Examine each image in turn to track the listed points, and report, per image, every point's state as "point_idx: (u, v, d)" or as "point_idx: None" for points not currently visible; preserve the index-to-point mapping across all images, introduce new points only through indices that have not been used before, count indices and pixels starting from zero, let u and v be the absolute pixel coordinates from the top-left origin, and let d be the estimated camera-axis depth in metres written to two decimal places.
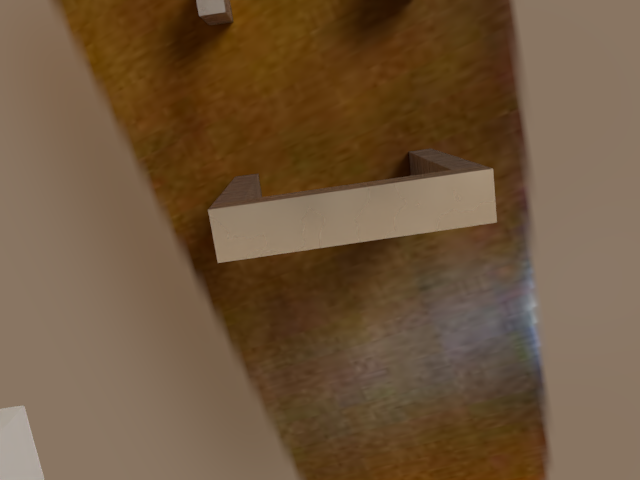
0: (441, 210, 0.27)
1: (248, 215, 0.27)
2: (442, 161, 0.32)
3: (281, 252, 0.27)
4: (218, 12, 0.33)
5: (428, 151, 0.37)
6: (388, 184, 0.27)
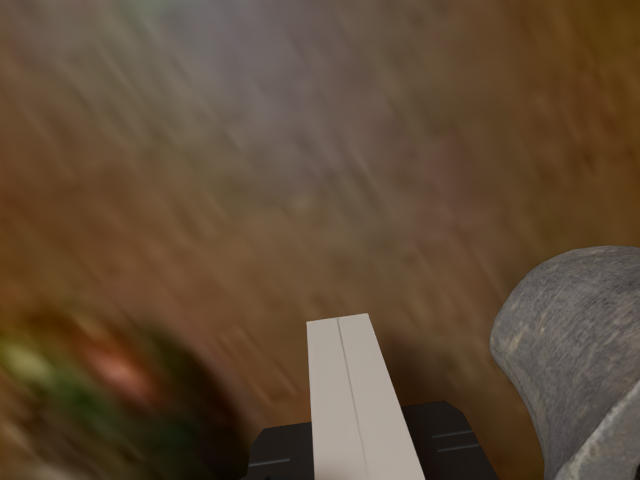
0: None
1: None
2: None
3: None
4: None
5: None
6: None
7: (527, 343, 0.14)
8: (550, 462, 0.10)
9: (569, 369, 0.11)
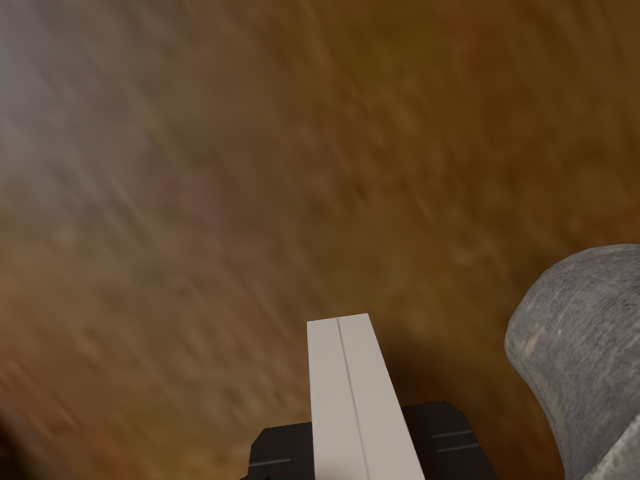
0: None
1: None
2: None
3: None
4: None
5: None
6: None
7: (545, 346, 0.13)
8: (571, 472, 0.09)
9: (588, 373, 0.11)
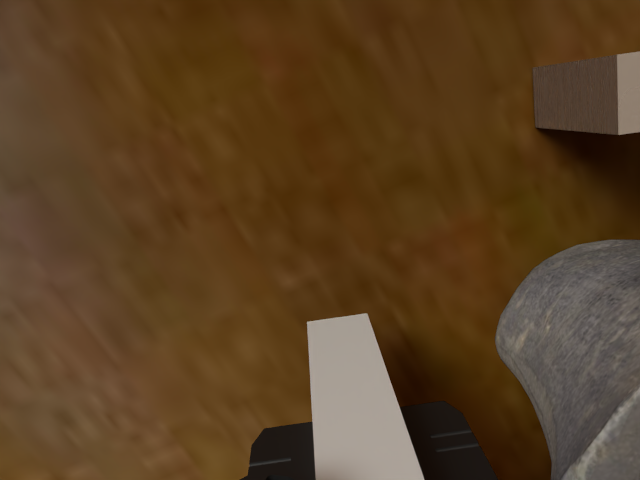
0: None
1: None
2: None
3: None
4: None
5: None
6: None
7: (533, 341, 0.13)
8: (557, 463, 0.09)
9: (574, 367, 0.11)
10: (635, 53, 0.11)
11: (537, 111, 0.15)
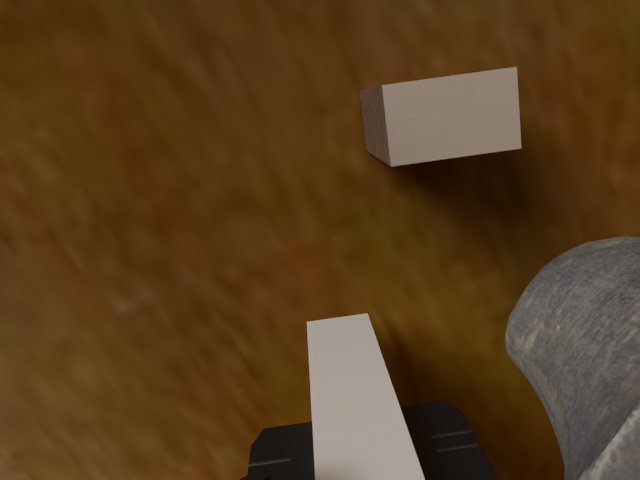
0: None
1: None
2: None
3: None
4: None
5: None
6: None
7: (543, 342, 0.13)
8: (570, 468, 0.09)
9: (586, 368, 0.11)
10: (401, 83, 0.11)
11: (365, 134, 0.15)
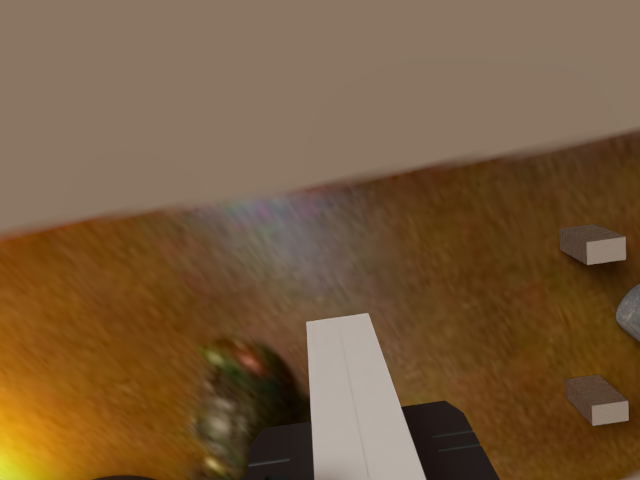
0: None
1: None
2: None
3: None
4: (627, 405, 0.40)
5: None
6: None
7: (635, 316, 0.40)
8: None
9: None
10: (592, 241, 0.37)
11: (560, 245, 0.41)
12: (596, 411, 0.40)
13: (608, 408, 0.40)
